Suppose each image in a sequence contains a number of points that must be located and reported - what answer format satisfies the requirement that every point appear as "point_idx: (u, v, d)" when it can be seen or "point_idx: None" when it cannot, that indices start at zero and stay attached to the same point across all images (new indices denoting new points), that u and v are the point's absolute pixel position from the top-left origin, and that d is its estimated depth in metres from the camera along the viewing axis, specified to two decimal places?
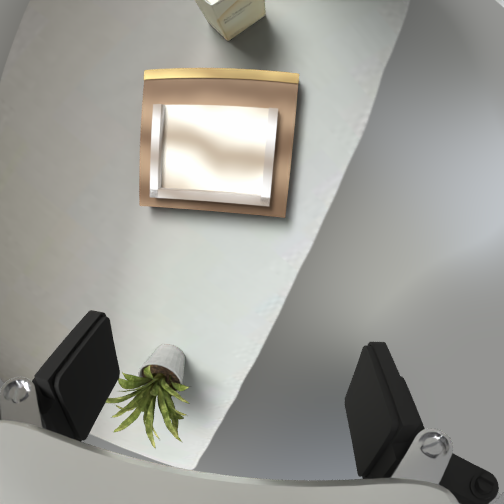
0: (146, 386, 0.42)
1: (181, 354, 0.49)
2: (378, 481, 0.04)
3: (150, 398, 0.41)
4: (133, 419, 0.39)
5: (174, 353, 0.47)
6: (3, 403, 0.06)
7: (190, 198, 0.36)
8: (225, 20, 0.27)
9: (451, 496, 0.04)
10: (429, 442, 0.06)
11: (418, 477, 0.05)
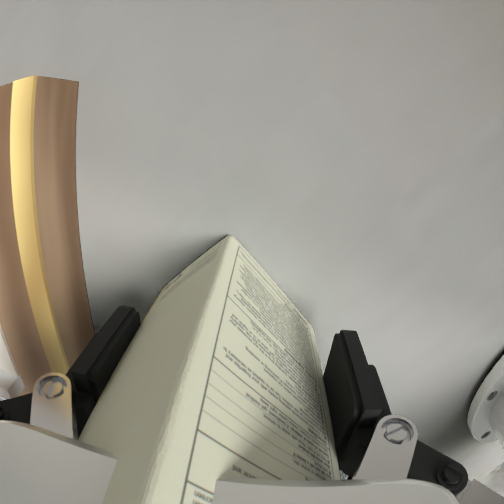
0: None
1: None
2: (378, 481, 0.04)
3: None
4: None
5: None
6: (38, 399, 0.06)
7: None
8: None
9: (451, 496, 0.04)
10: (392, 429, 0.07)
11: (378, 461, 0.06)
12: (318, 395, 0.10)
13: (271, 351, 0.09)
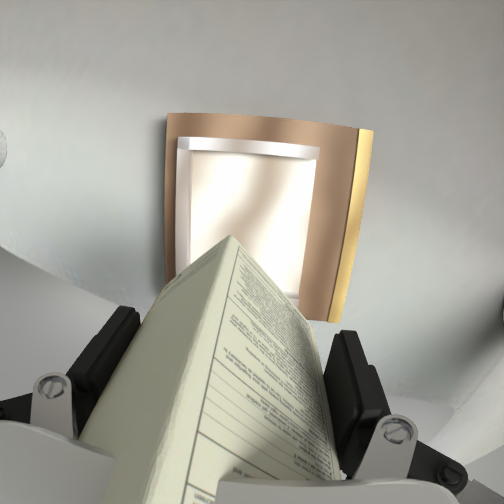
0: None
1: None
2: (378, 481, 0.04)
3: None
4: None
5: None
6: (38, 399, 0.06)
7: (177, 198, 0.26)
8: None
9: (451, 496, 0.04)
10: (392, 428, 0.07)
11: (378, 461, 0.06)
12: (319, 395, 0.10)
13: (271, 351, 0.09)
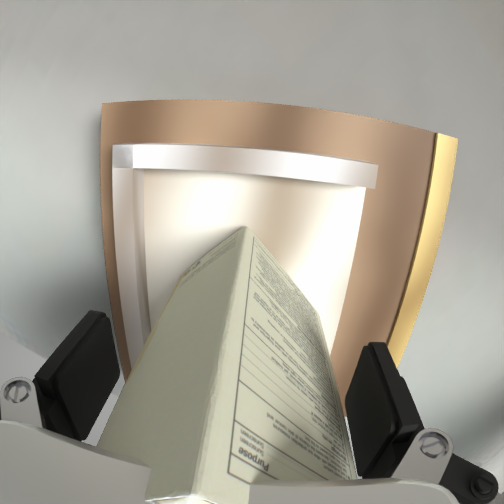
0: None
1: None
2: (378, 481, 0.04)
3: None
4: None
5: None
6: (3, 403, 0.06)
7: (118, 254, 0.14)
8: None
9: (451, 496, 0.04)
10: (429, 442, 0.06)
11: (418, 477, 0.05)
12: (327, 369, 0.11)
13: (287, 326, 0.10)
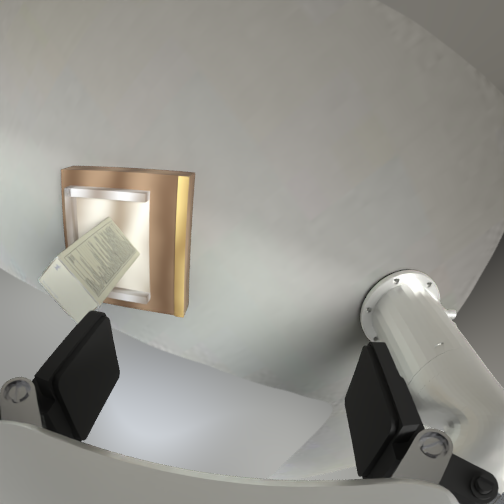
0: None
1: None
2: (378, 481, 0.04)
3: None
4: None
5: None
6: (3, 403, 0.06)
7: (67, 227, 0.35)
8: None
9: (451, 496, 0.04)
10: (429, 442, 0.06)
11: (418, 477, 0.05)
12: (121, 265, 0.33)
13: (105, 247, 0.32)
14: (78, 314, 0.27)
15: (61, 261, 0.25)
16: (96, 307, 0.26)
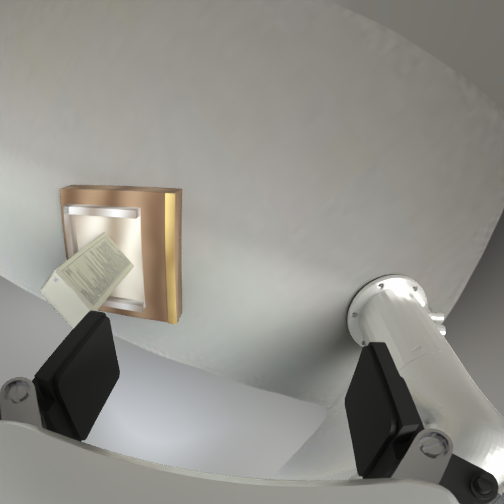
0: None
1: None
2: (378, 481, 0.04)
3: None
4: None
5: None
6: (3, 403, 0.06)
7: (67, 242, 0.38)
8: None
9: (451, 496, 0.04)
10: (429, 442, 0.06)
11: (418, 477, 0.05)
12: (115, 277, 0.35)
13: (100, 260, 0.35)
14: (76, 321, 0.30)
15: (59, 274, 0.28)
16: None
